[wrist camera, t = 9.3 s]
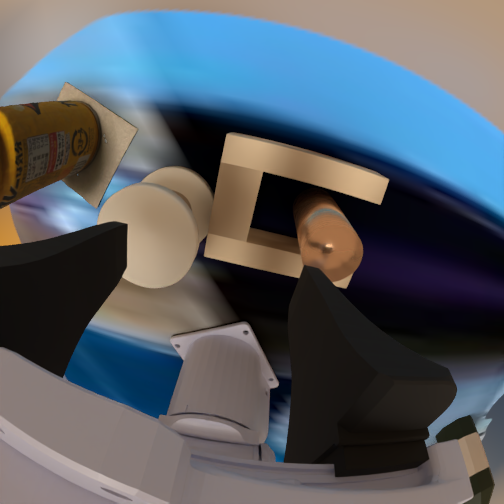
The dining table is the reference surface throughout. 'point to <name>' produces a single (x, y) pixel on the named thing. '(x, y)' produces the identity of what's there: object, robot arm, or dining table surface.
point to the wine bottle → (471, 457)
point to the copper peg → (326, 235)
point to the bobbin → (161, 224)
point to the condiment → (60, 146)
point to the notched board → (246, 190)
